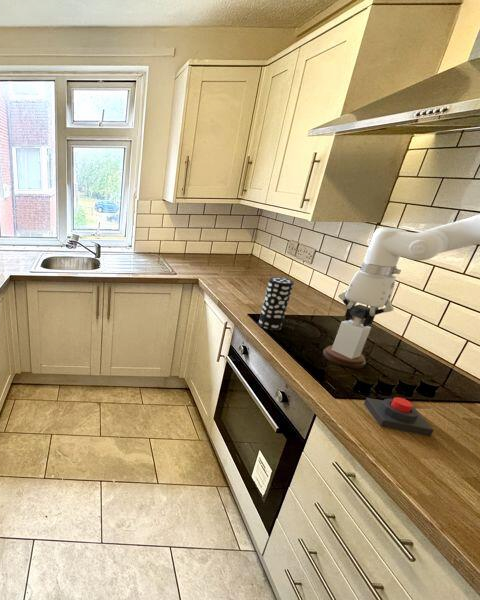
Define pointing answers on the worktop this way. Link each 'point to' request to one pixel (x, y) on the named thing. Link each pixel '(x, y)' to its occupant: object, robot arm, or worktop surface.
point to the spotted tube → (275, 303)
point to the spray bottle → (351, 337)
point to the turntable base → (342, 363)
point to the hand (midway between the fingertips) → (357, 322)
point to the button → (402, 404)
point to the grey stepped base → (397, 417)
